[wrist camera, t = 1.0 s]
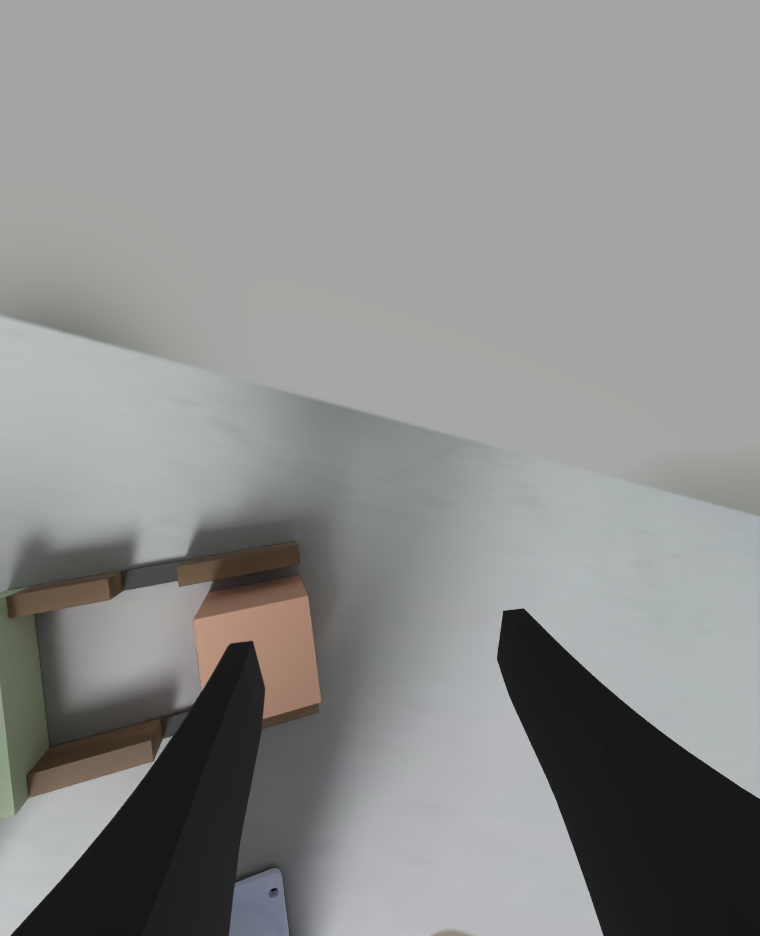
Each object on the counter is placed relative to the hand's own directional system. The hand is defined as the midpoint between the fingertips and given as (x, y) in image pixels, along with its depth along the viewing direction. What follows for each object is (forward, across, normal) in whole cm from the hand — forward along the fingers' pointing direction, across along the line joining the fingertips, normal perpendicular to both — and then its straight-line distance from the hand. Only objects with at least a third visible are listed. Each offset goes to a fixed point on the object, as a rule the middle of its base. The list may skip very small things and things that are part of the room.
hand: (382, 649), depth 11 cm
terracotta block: (+9, +6, +8) cm, 14 cm away
